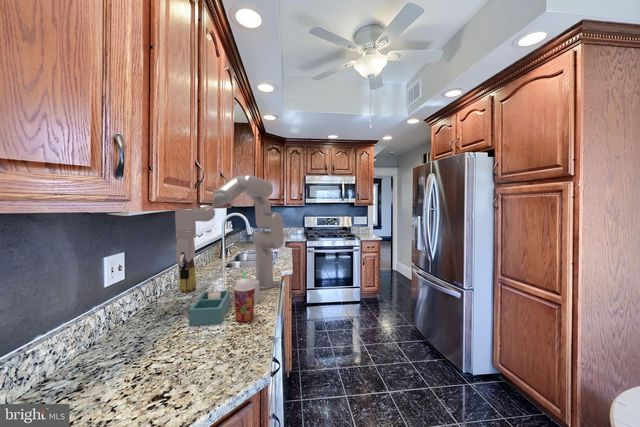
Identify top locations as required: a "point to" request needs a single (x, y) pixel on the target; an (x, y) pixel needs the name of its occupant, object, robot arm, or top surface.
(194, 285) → the sauce bottle
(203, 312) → the bottle crate
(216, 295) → the cream jar
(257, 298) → the toilet tissue
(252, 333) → the top surface
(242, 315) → the smoothie
